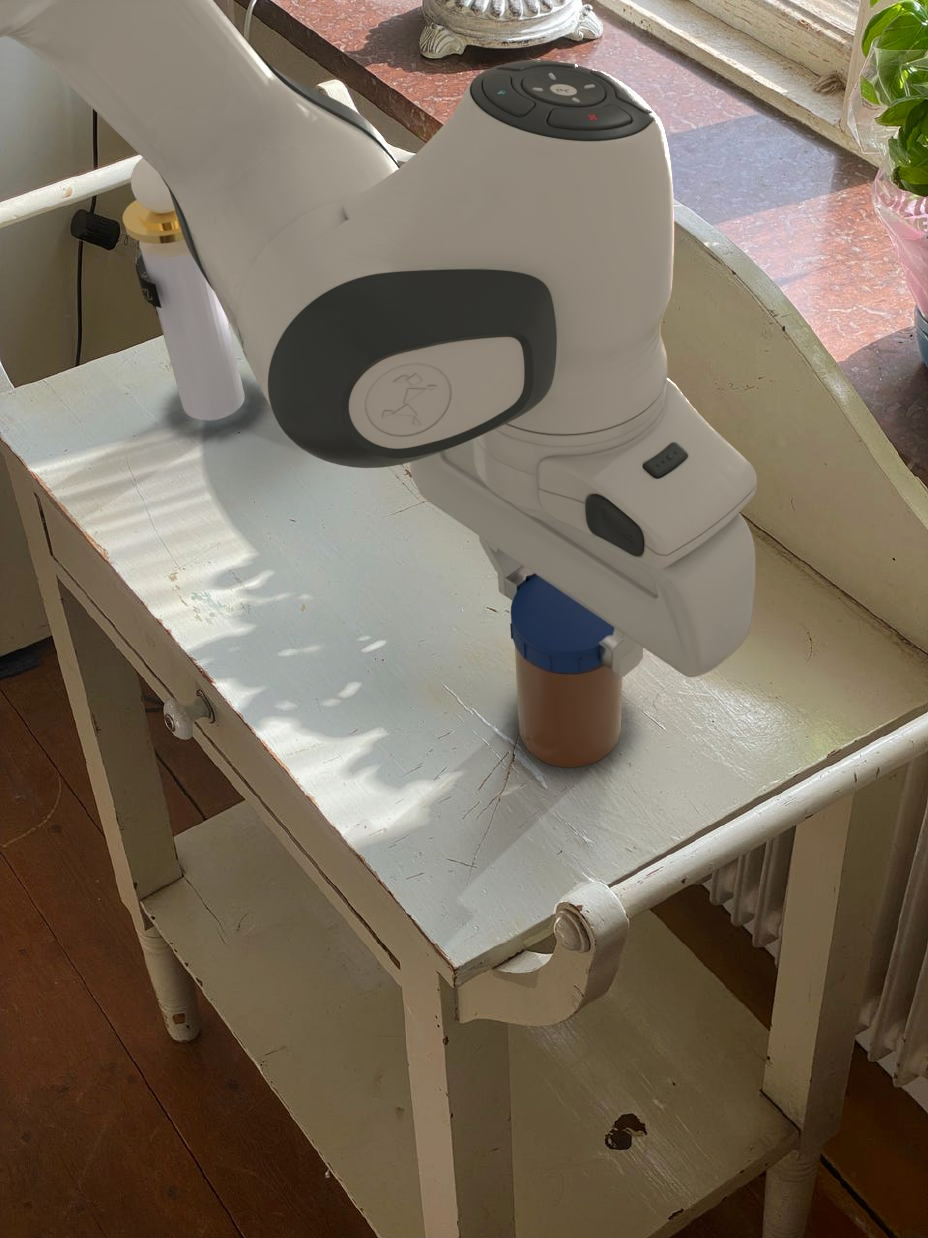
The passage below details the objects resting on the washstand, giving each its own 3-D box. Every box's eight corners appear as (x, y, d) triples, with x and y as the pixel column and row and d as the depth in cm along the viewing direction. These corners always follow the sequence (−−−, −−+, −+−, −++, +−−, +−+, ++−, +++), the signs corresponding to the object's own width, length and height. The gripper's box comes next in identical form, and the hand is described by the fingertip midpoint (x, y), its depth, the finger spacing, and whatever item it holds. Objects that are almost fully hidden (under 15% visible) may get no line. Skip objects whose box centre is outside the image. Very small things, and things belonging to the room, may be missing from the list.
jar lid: (542, 689, 70) (541, 667, 69) (493, 612, 74) (491, 590, 73) (646, 649, 72) (648, 627, 71) (593, 575, 76) (593, 553, 75)
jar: (546, 782, 77) (542, 671, 70) (502, 709, 80) (495, 597, 73) (638, 745, 78) (644, 633, 71) (591, 675, 82) (592, 562, 75)
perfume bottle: (246, 376, 104) (190, 126, 89) (262, 422, 100) (206, 168, 85) (170, 395, 103) (101, 145, 88) (183, 442, 99) (114, 188, 84)
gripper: (366, 362, 67) (395, 564, 77) (692, 565, 56) (676, 769, 66) (460, 305, 70) (476, 507, 80) (789, 488, 59) (759, 695, 69)
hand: (569, 628), depth 73 cm, fingers closed on jar lid, 6 cm apart
